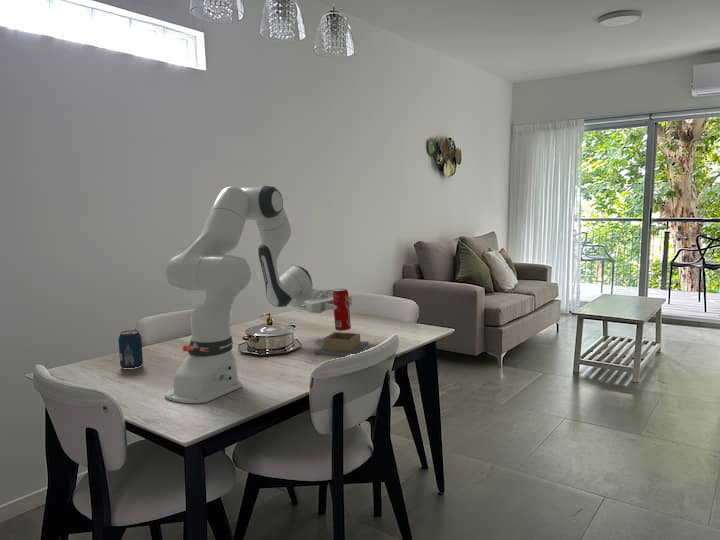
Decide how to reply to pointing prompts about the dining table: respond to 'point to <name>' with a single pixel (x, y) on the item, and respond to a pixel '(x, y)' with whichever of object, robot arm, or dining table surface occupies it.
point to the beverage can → (341, 310)
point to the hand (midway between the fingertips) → (343, 305)
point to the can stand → (341, 344)
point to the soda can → (130, 349)
